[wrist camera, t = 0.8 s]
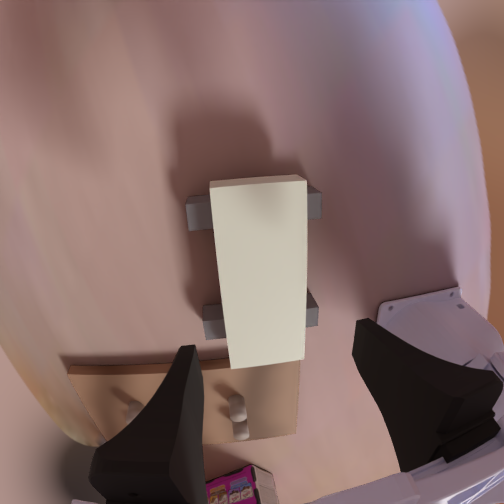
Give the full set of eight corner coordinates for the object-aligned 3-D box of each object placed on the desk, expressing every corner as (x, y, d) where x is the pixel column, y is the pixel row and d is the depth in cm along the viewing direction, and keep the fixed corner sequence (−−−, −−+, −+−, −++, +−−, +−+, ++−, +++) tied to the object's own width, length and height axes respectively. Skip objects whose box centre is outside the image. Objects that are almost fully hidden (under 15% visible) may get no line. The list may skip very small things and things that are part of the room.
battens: (311, 186, 21) (321, 193, 19) (310, 310, 24) (317, 325, 22) (187, 196, 20) (185, 204, 18) (205, 323, 24) (206, 339, 22)
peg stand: (296, 349, 26) (306, 375, 23) (293, 424, 30) (300, 448, 27) (70, 365, 24) (60, 389, 21) (110, 436, 28) (106, 459, 25)
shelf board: (209, 181, 18) (209, 188, 16) (297, 174, 18) (306, 180, 16) (228, 350, 22) (231, 369, 21) (297, 341, 23) (303, 359, 21)
